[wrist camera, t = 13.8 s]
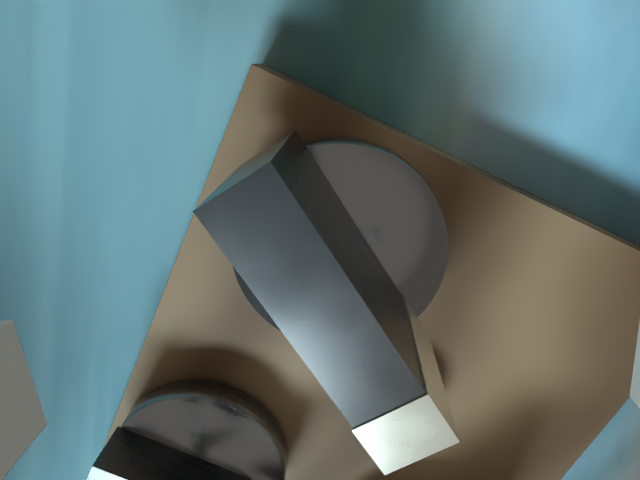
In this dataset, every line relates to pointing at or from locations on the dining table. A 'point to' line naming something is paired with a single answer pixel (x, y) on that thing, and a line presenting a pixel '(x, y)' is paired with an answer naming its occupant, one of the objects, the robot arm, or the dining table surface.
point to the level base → (438, 318)
